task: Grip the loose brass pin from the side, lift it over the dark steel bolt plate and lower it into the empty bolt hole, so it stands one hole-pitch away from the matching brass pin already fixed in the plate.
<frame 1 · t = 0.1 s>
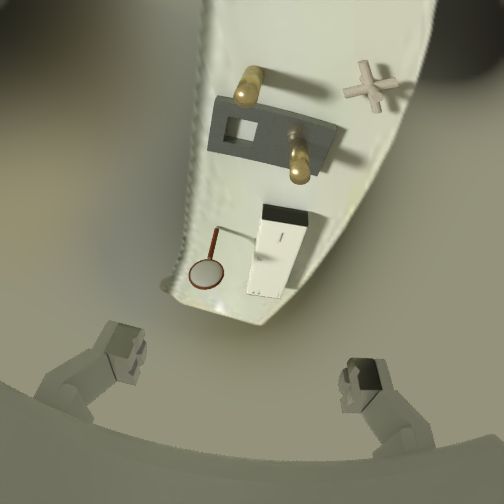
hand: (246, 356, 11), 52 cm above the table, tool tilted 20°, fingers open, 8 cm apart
pipe connector: (364, 78, 46), on the table
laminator: (275, 248, 87), on the table
brass pin: (253, 74, 49), on the table
bolt plate: (270, 133, 58), on the table
magnifying glass: (217, 226, 82), on the table
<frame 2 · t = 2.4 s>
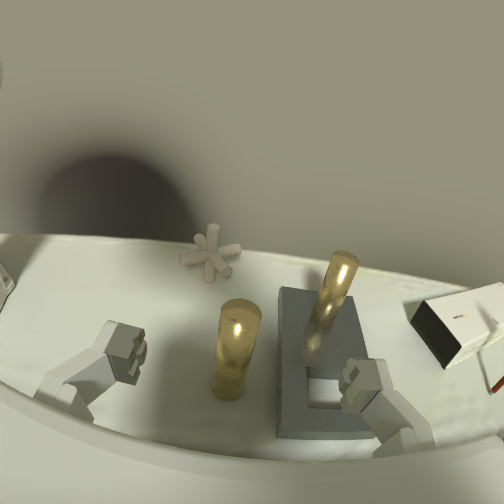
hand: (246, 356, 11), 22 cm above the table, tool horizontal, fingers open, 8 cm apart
pipe connector: (208, 280, 50), on the table
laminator: (469, 327, 48), on the table
brass pin: (227, 387, 33), on the table
bolt plate: (320, 361, 39), on the table
magnifying glass: (489, 394, 34), on the table
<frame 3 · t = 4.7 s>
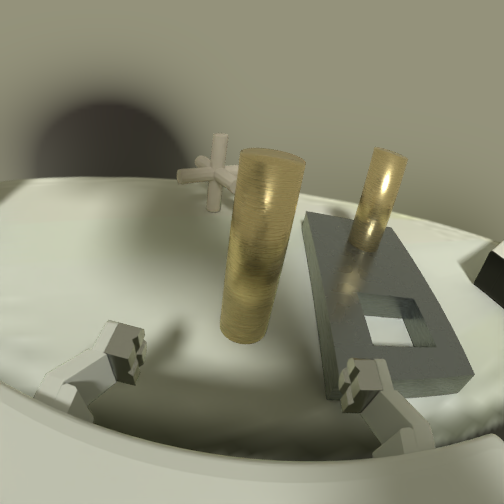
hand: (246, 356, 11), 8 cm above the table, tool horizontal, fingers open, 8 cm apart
pipe connector: (213, 210, 40), on the table
brass pin: (243, 326, 23), on the table
bolt plate: (369, 295, 28), on the table
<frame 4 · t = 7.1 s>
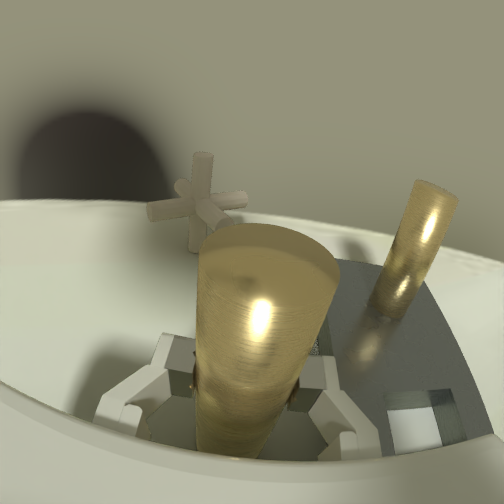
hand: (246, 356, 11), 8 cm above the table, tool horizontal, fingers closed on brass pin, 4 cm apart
pipe connector: (196, 250, 31), on the table
brass pin: (228, 445, 15), on the table, touching gripper
bolt plate: (393, 377, 20), on the table
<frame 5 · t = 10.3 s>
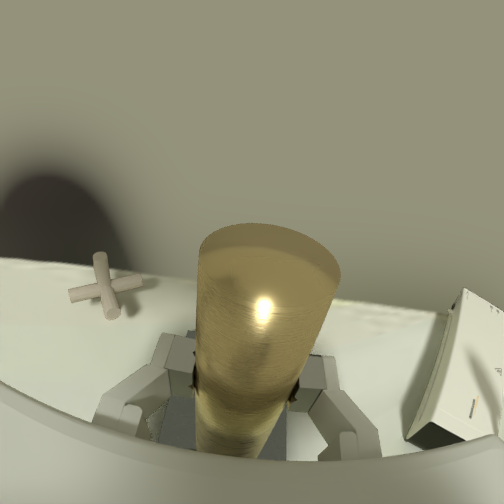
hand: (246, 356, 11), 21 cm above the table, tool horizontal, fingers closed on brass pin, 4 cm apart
pipe connector: (111, 316, 38), on the table
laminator: (456, 376, 36), on the table
brass pin: (227, 445, 14), point 13 cm above the table, touching gripper
bolt plate: (223, 435, 27), on the table
when the fingers open (9 cm above the table, at t = 13.4 s): brass pin drops 1 cm, resting in bolt plate.
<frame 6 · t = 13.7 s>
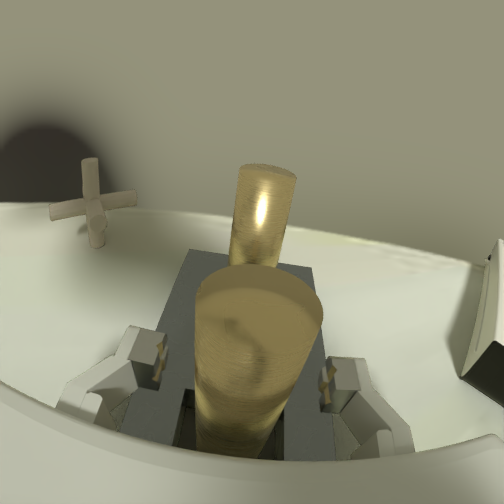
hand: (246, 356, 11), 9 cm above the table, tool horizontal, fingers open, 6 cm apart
pipe connector: (97, 245, 32), on the table
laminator: (502, 324, 30), on the table
brass pin: (226, 453, 15), resting in bolt plate
bolt plate: (235, 378, 20), on the table
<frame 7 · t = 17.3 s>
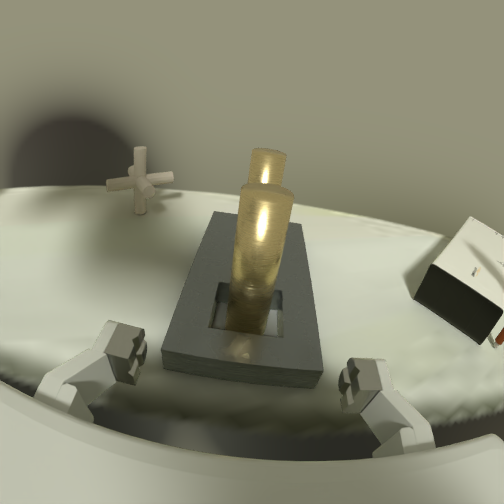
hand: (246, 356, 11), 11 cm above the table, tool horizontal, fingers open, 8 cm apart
pipe connector: (140, 213, 44), on the table
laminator: (465, 278, 41), on the table
brass pin: (245, 327, 27), resting in bolt plate
bolt plate: (249, 287, 32), on the table
magnifying glass: (493, 348, 27), on the table
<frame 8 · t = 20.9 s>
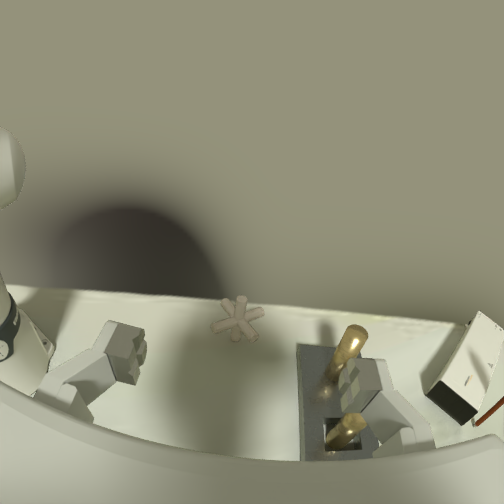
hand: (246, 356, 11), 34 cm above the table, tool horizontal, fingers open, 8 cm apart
pipe connector: (235, 338, 55), on the table
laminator: (464, 368, 53), on the table
brass pin: (336, 439, 39), resting in bolt plate
bolt plate: (333, 409, 44), on the table
magnifying glass: (473, 426, 39), on the table
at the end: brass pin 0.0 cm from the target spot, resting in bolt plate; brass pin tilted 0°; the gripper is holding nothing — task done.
